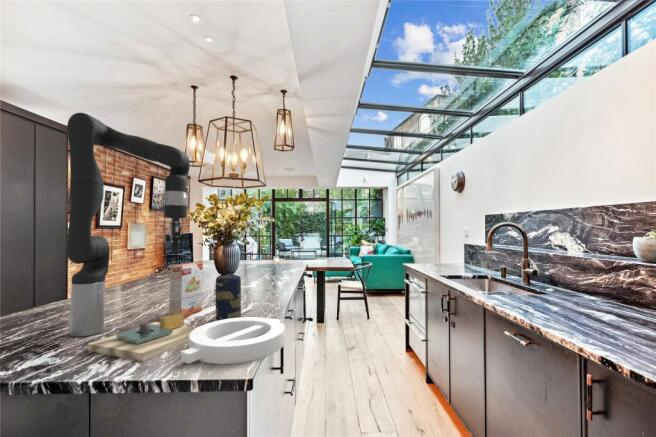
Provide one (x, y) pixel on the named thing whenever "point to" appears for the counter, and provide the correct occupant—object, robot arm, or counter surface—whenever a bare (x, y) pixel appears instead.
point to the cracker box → (186, 288)
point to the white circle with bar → (235, 340)
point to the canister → (228, 297)
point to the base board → (142, 349)
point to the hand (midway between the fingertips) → (175, 253)
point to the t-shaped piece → (154, 329)
